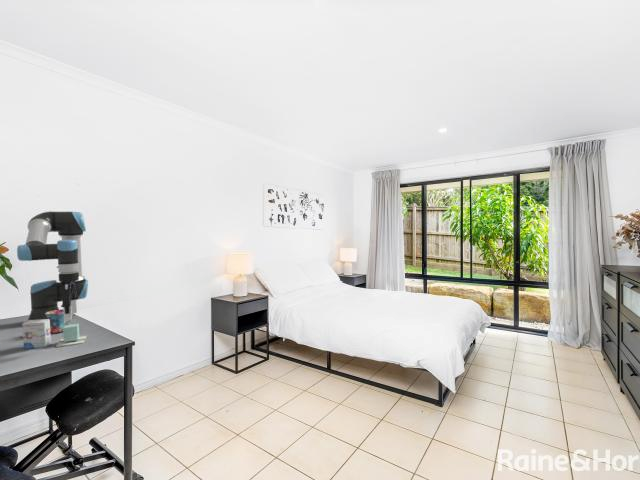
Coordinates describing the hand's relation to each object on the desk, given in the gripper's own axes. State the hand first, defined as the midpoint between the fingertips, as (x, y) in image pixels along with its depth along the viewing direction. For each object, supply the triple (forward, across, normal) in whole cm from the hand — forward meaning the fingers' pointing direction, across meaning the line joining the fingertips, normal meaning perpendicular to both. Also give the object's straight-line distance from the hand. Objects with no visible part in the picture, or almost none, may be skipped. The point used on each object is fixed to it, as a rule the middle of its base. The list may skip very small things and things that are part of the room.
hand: (70, 316), depth 150 cm
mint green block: (+11, 0, 0) cm, 11 cm away
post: (+12, 0, 0) cm, 12 cm away
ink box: (+12, -1, -13) cm, 18 cm away
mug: (+12, -23, -8) cm, 27 cm away
